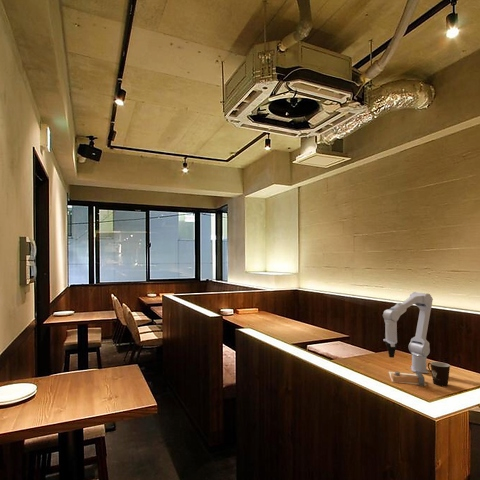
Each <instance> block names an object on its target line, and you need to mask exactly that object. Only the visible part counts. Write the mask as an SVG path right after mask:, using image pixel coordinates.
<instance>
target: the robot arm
mask: <svg viewBox="0 0 480 480" xmlns="http://www.w3.org/2000/svg"><path fill="white" fill-rule="evenodd" d="M433 300H434V299H433V297H432V295H431V294H430V293H425V292H424V293H423V292H417V291H412V293H410V294H409V297H407V299H405V300H404V301H403V302H397V303H395V305H394V306H391V307H390V308H389V309H385V310H384V311H383V314H382V318H383V320H384V324H385V325H384V327H385V333H384V335H385V338H383V342H385V346H386V348H387V352H388V357H389V358H394V357H395V353H396V350H397V347H398V344H397V343H398V332H397V331H398V330H397V329H398V327H397V325H398V324H397V323H398V321H399V319H400V317H401V316H402V315H403V314H404V313H406V312H407V309H408V308H410V307H412V306H413V305H415V306H416V307H417V308H418V309H419V314H418V320H417V325H416V330H415V336H413V337H411V339H410V342H409V344H408V351H409V352H410V354H411V366H410V369H411V371H412V372H413V373H416V371H420V372H421V373H422V374H429V372H430V371H428V369H427V368H428V363H427V357H429V356H428V355H429V354H430V352H431V348H430V342H429V341H428V340H427V333H428V327H429V323H430V322H429V321H430V316H431V312H432V311H431V310H432V305H433Z"/></svg>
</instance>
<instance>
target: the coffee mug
mask: <svg viewBox="0 0 480 480" xmlns="http://www.w3.org/2000/svg"><path fill="white" fill-rule="evenodd" d="M427 368H428V369H427V370H429V372H430V373H431V375H432V376H431V377H432V383H433V385H435V386H439V387H446V388H447V387H448V386H449V377H450V368H451V365H450V364H449V363H446V362H441V361H431V362H429V363H427Z"/></svg>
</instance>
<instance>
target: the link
mask: <svg viewBox="0 0 480 480" xmlns="http://www.w3.org/2000/svg"><path fill="white" fill-rule="evenodd" d="M391 378H392V380H393V381H398V382H397V383H399V382H416V383H419V382H418V377H417V376H414V375H403V374H399V376H396V373H391ZM391 378H390V379H391ZM392 380H391V381H392ZM424 383H426V381H425V378H424Z"/></svg>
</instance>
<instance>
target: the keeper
mask: <svg viewBox="0 0 480 480" xmlns="http://www.w3.org/2000/svg"><path fill="white" fill-rule="evenodd" d="M415 374H416V375H417V377H418V382H419V385H418V386H419V387H425V385H424V379H425V376H424V375H423V373H421V372H420V371H416V372H415Z"/></svg>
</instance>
